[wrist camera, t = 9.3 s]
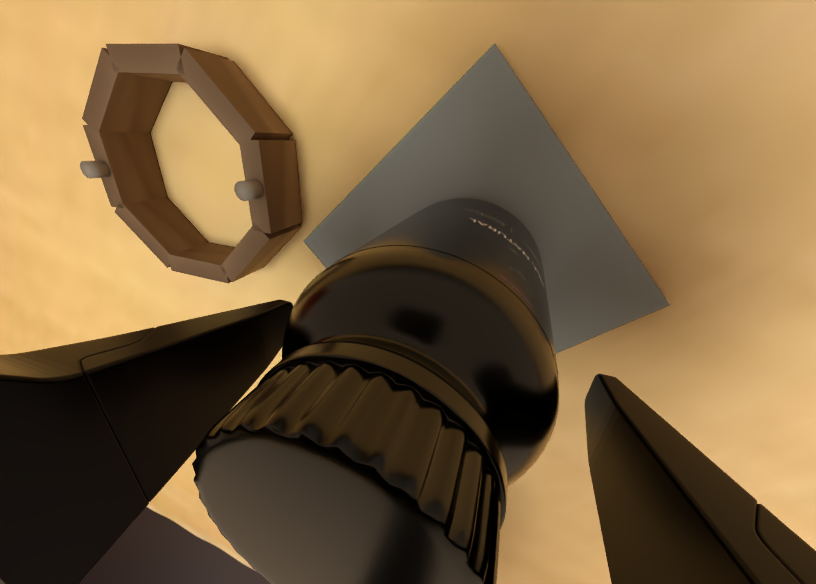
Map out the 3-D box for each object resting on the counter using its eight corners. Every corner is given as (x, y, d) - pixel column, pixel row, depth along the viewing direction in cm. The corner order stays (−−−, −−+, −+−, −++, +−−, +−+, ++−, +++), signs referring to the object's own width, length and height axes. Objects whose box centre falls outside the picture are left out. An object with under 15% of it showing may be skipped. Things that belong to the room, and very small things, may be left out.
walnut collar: (336, 188, 16) (296, 198, 13) (240, 293, 21) (195, 316, 18) (182, -2, 14) (98, -38, 11) (119, 161, 19) (50, 165, 17)
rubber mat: (664, 298, 13) (669, 304, 13) (443, 395, 19) (440, 402, 19) (495, 47, 12) (494, 43, 11) (309, 238, 17) (303, 241, 17)
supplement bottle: (560, 202, 12) (752, 501, 2) (523, 345, 15) (528, 756, 5) (395, 186, 14) (59, 305, 4) (391, 317, 17) (197, 581, 7)
